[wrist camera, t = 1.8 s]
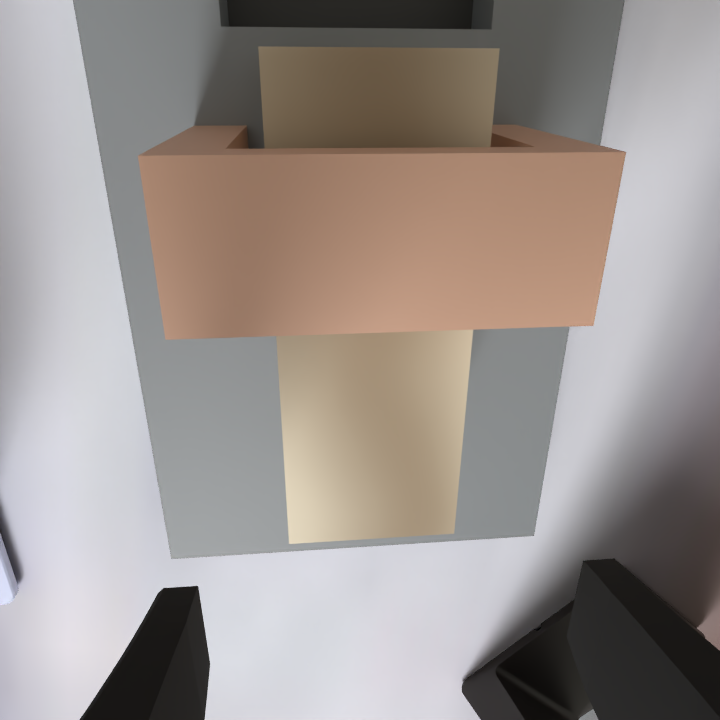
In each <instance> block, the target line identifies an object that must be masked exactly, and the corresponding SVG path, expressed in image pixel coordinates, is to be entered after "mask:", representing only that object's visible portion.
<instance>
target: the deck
mask: <svg viewBox="0 0 720 720" xmlns="http://www.w3.org/2000/svg"><path fill="white" fill-rule="evenodd" d="M73 3H74V9H75V14H76V20H77V26H78V31H79V37H80V43H81V48H82V54H83V60H84V65H85V71H86V77H87V82H88V88H89V94H90V99H91V105H92V111H93V117H94V122H95V128H96V134H97V139H98V145H99V151H100V156H101V162H102V168H103V173H104V179H105V185H106V190H107V196H108V202H109V207H110V213H111V219H112V224H113V230H114V236H115V241H116V247H117V253H118V258H119V264H120V270H121V275H122V281H123V287H124V293H125V298H126V304H127V310H128V315H129V321H130V327H131V332H132V338H133V344H134V349H135V355H136V361H137V366H138V372H139V378H140V383H141V389H142V395H143V400H144V406H145V412H146V417H147V423H148V429H149V434H150V440H151V446H152V451H153V457H154V463H155V469H156V474H157V480H158V486H159V491H160V497H161V503H162V508H163V514H164V520H165V525H166V531H167V537H168V542H169V548H170V554H171V559H179V558H195V557H210V556H226V555H242V554H257V553H273V552H289V551H304V550H320V549H336V548H351V547H367V546H383V545H398V544H414V543H429V542H445V541H461V540H476V539H492V538H508V537H523V536H534V532H535V526H536V520H537V514H538V509H539V503H540V497H541V491H542V485H543V479H544V473H545V467H546V461H547V455H548V449H549V444H550V438H551V432H552V426H553V420H554V414H555V408H556V402H557V396H558V390H559V384H560V379H561V373H562V367H563V361H564V355H565V349H566V343H567V337H568V331H569V326H567V327H537V328H507V329H476V330H473V338H472V348H471V359H470V370H469V380H468V391H467V401H466V412H465V423H464V433H463V444H462V455H461V465H460V476H459V487H458V497H457V508H456V519H455V529H454V534H441V535H425V536H409V537H393V538H378V539H362V540H346V541H330V542H314V543H298V544H289V535H288V518H287V502H286V486H285V470H284V454H283V438H282V421H281V405H280V389H279V373H278V357H277V341H276V336H265V337H235V338H205V339H175V340H165V334H164V327H163V320H162V314H161V307H160V300H159V294H158V287H157V280H156V274H155V267H154V260H153V254H152V247H151V240H150V234H149V227H148V220H147V214H146V207H145V200H144V194H143V187H142V181H141V174H140V167H139V161H138V155H140V154H142V153H144V152H146V151H147V150H149V149H151V148H153V147H155V146H157V145H159V144H161V143H162V142H164V141H166V140H168V139H170V138H172V137H174V136H176V135H177V134H179V133H181V132H183V131H185V130H187V129H189V128H191V127H192V126H242V125H247V134H248V148H249V149H265V147H264V131H263V115H262V98H261V82H260V66H259V50H258V46H264V47H389V48H500V50H499V61H498V71H497V82H496V93H495V103H494V114H493V125H519V126H523V127H527V128H531V129H535V130H539V131H543V132H547V133H551V134H555V135H559V136H563V137H567V138H571V139H575V140H580V141H584V142H588V143H592V144H596V145H600V142H601V136H602V130H603V125H604V119H605V113H606V107H607V101H608V95H609V89H610V83H611V77H612V71H613V65H614V60H615V54H616V48H617V42H618V36H619V30H620V24H621V18H622V12H623V6H624V0H73Z"/></svg>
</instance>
